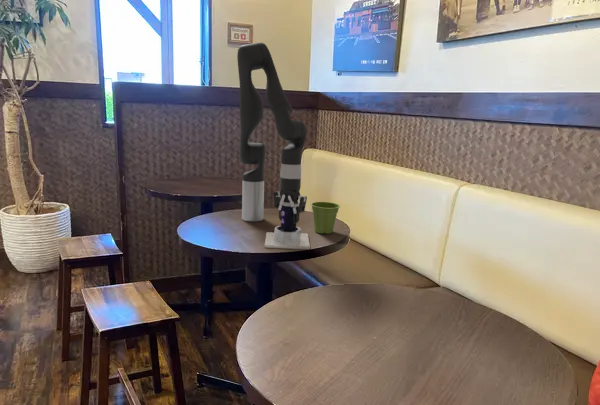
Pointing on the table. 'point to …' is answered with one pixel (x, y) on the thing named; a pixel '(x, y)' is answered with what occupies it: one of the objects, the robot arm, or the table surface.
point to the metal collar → (287, 239)
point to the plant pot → (324, 216)
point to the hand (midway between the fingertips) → (288, 221)
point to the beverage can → (287, 217)
